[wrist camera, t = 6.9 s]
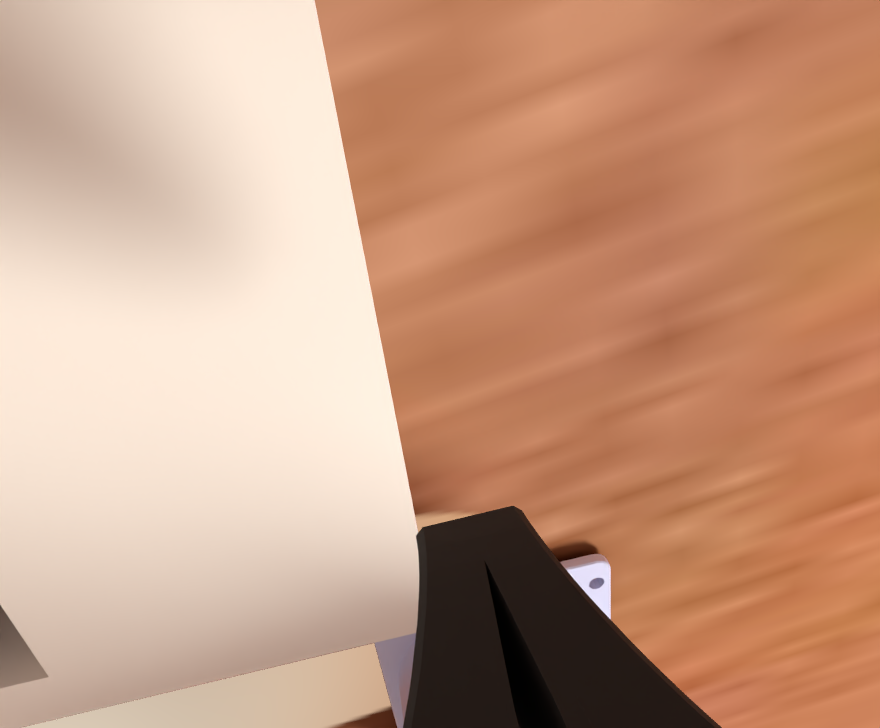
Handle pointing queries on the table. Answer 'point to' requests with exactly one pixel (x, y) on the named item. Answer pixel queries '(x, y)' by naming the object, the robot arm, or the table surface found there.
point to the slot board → (184, 359)
